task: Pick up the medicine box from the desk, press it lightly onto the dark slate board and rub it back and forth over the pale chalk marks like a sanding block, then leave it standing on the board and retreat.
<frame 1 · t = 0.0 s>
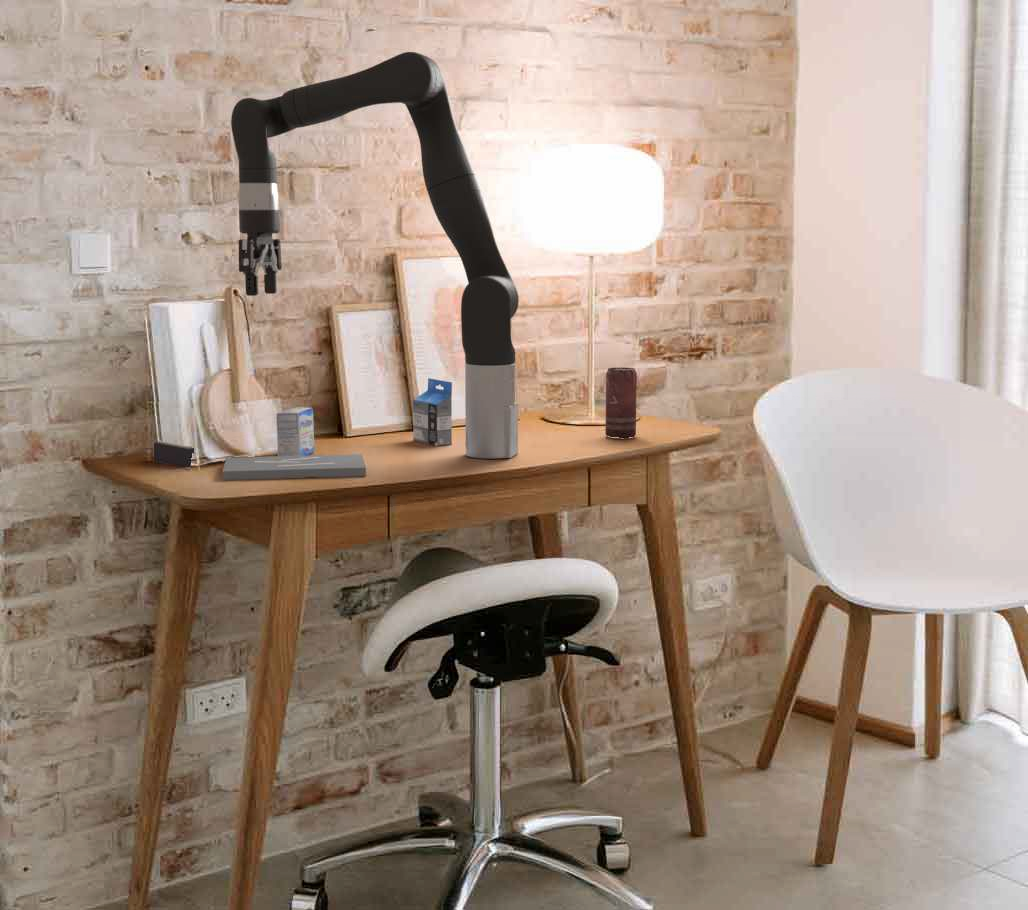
hand: (261, 294, 261), 29 cm above the table, fingers open, 8 cm apart
label tape cartridge: (432, 443, 271), on the table
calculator: (205, 462, 252), on the table
slate board: (294, 470, 239), on the table
medicine box: (296, 457, 255), on the table
can: (621, 438, 278), on the table
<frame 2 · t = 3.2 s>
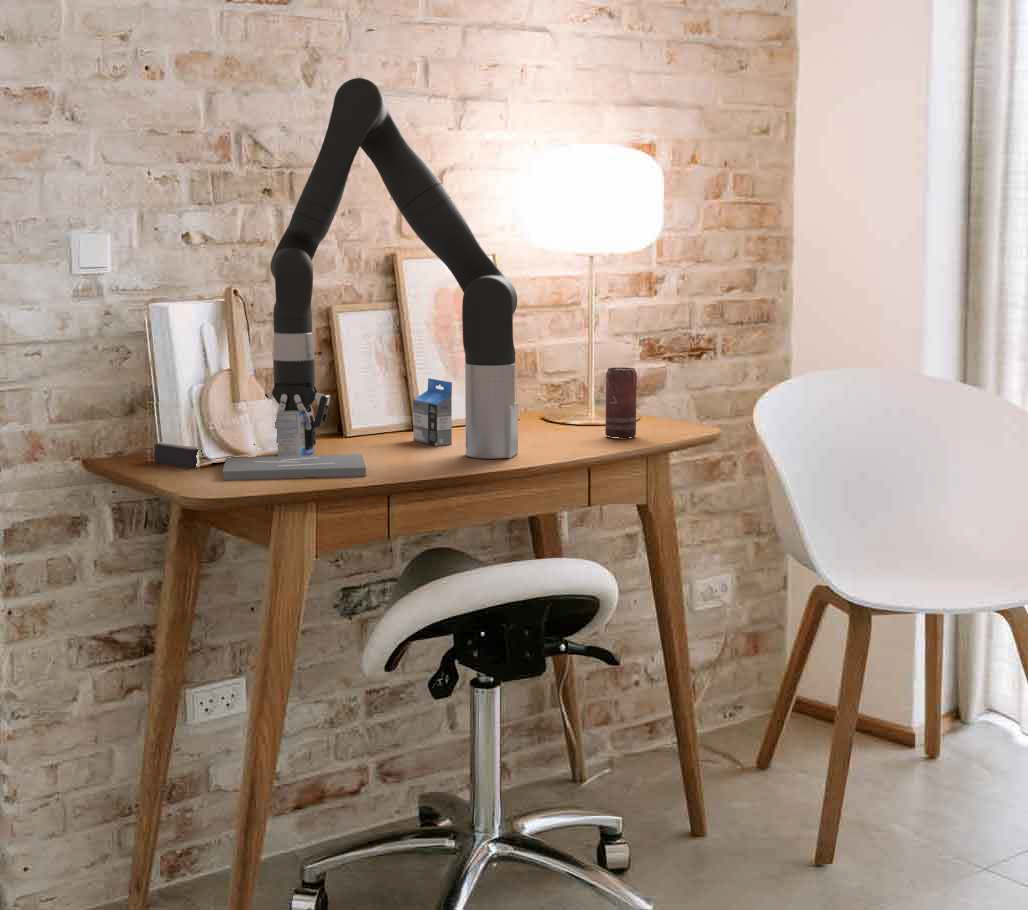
hand: (296, 448, 255), 1 cm above the table, fingers closed on medicine box, 4 cm apart
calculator: (206, 463, 251), on the table
medicine box: (296, 456, 255), on the table, touching gripper
everything else where it was.
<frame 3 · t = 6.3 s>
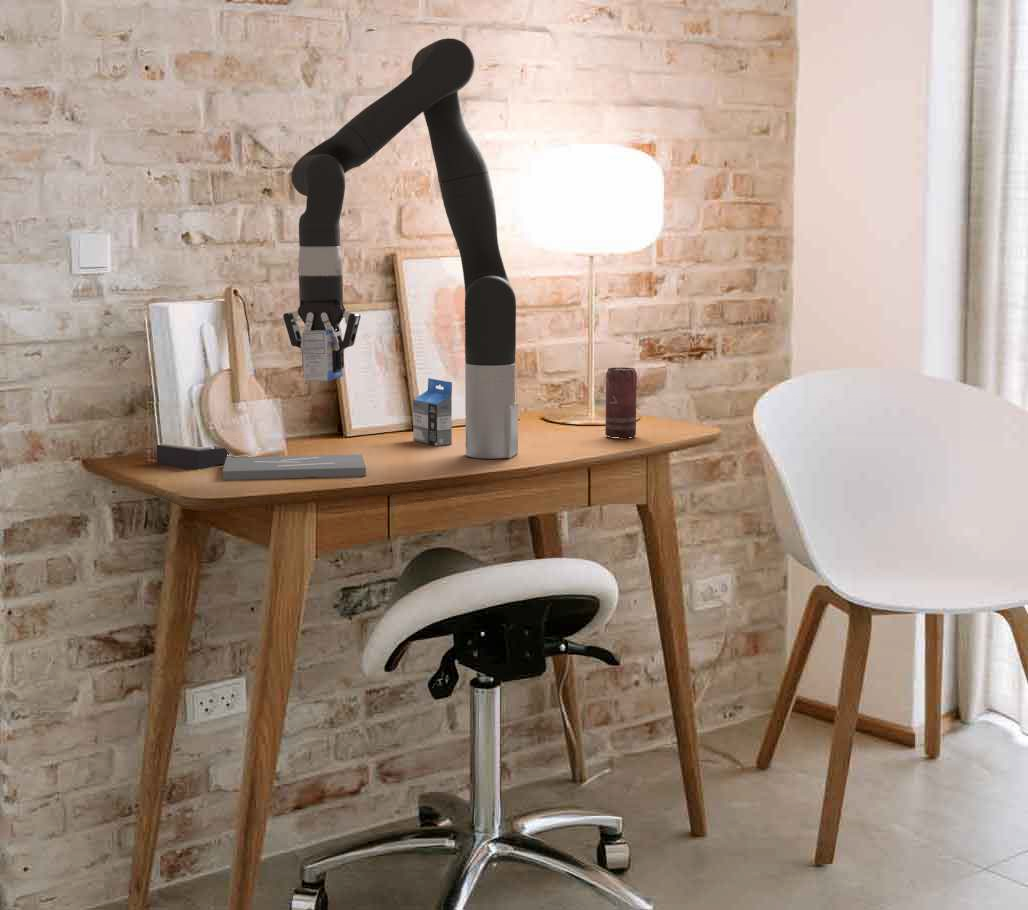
hand: (323, 371, 239), 17 cm above the table, fingers closed on medicine box, 4 cm apart
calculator: (208, 464, 250), on the table
medicine box: (323, 380, 240), point 16 cm above the table, touching gripper
everything else where it was.
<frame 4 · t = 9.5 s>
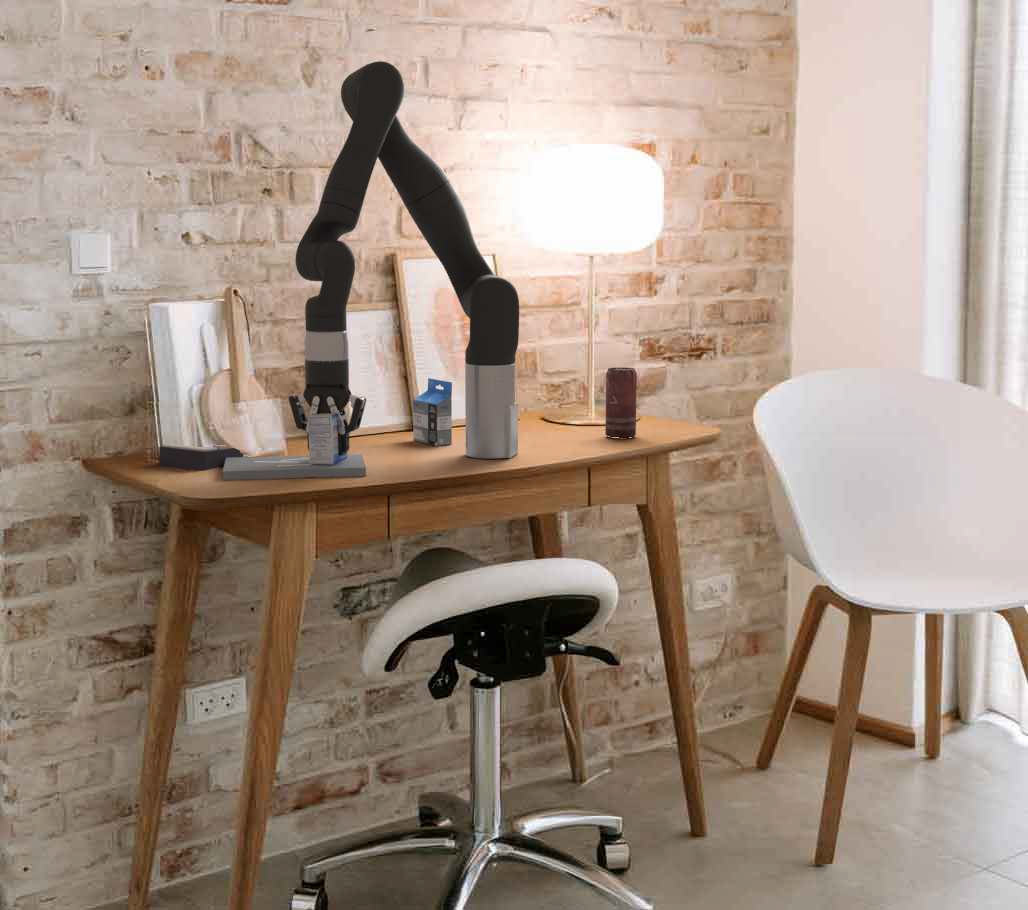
hand: (328, 453, 240), 3 cm above the table, fingers closed on medicine box, 4 cm apart
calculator: (210, 465, 249), on the table
medicine box: (328, 462, 240), point 1 cm above the table, touching gripper, slate board
everything else where it was.
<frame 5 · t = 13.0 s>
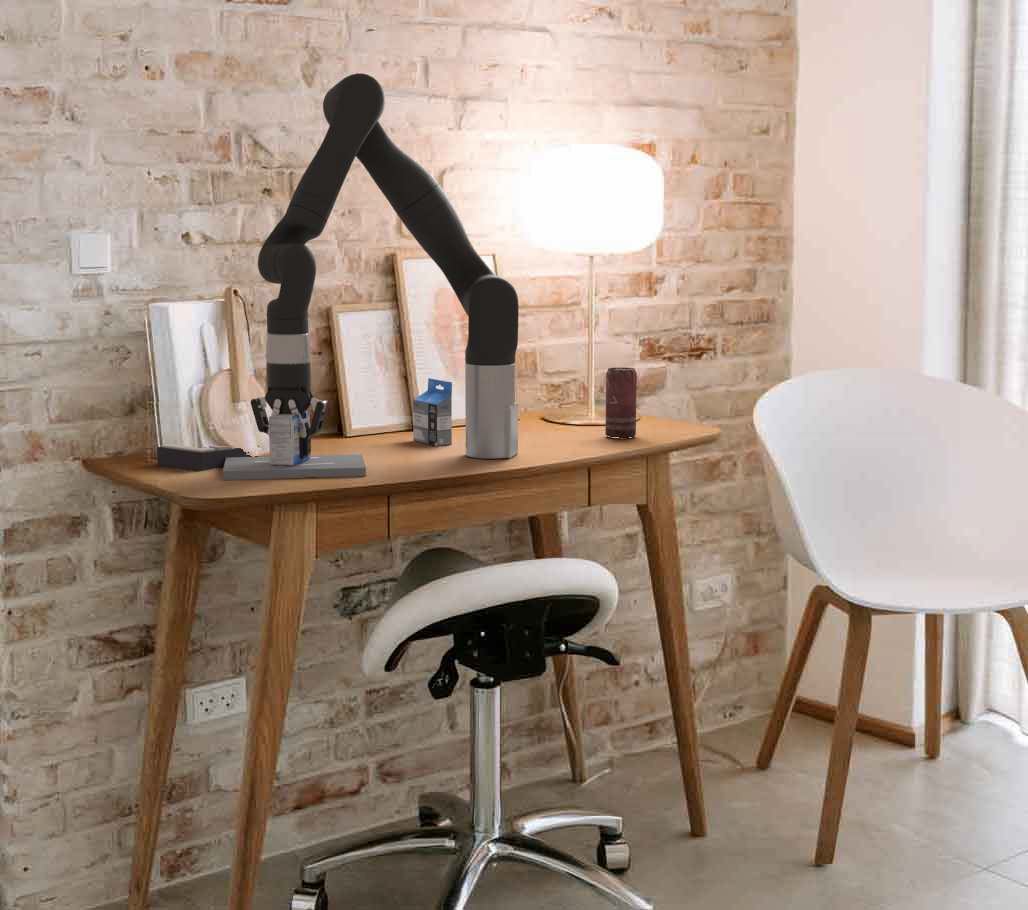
hand: (290, 457, 239), 2 cm above the table, fingers closed on medicine box, 4 cm apart
medicine box: (290, 463, 239), point 1 cm above the table, touching gripper
when the fingers open (2 cm above the table, at t = 15.7 s): medicine box stays where it is, resting on slate board.
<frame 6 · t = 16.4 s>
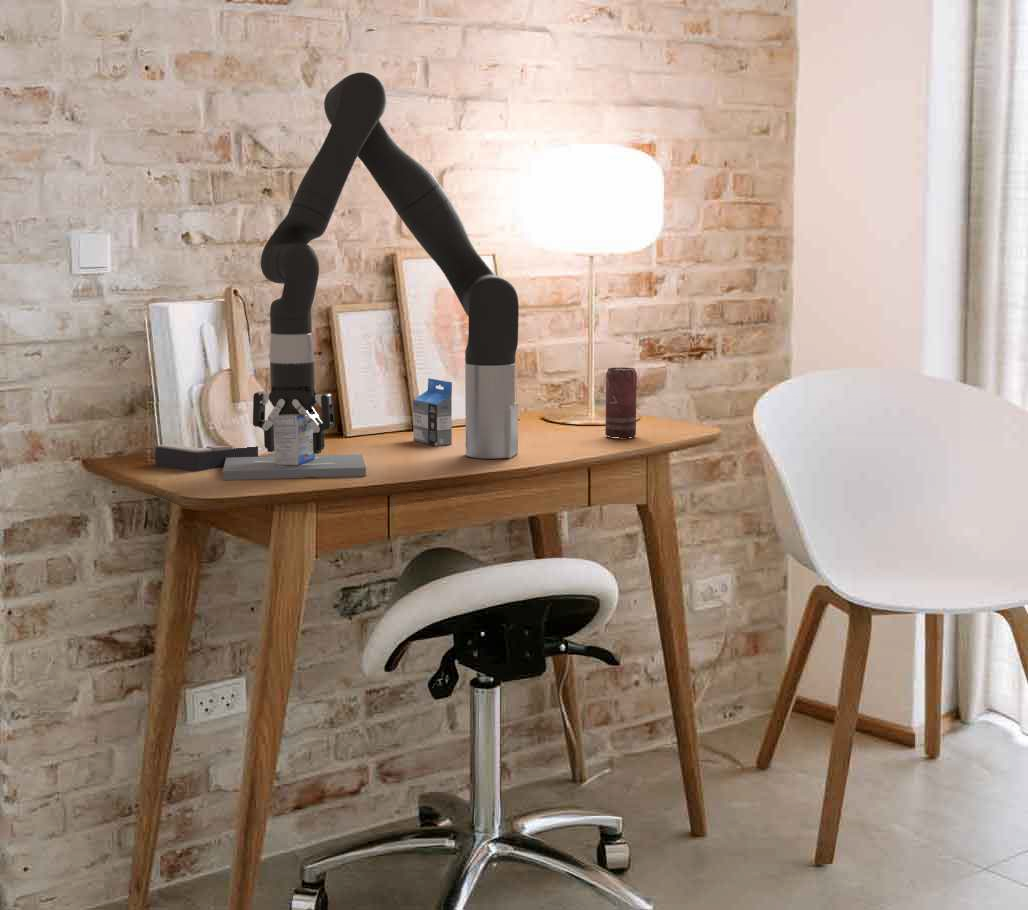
hand: (294, 452, 239), 3 cm above the table, fingers open, 8 cm apart
medicine box: (295, 463, 239), point 1 cm above the table, touching slate board
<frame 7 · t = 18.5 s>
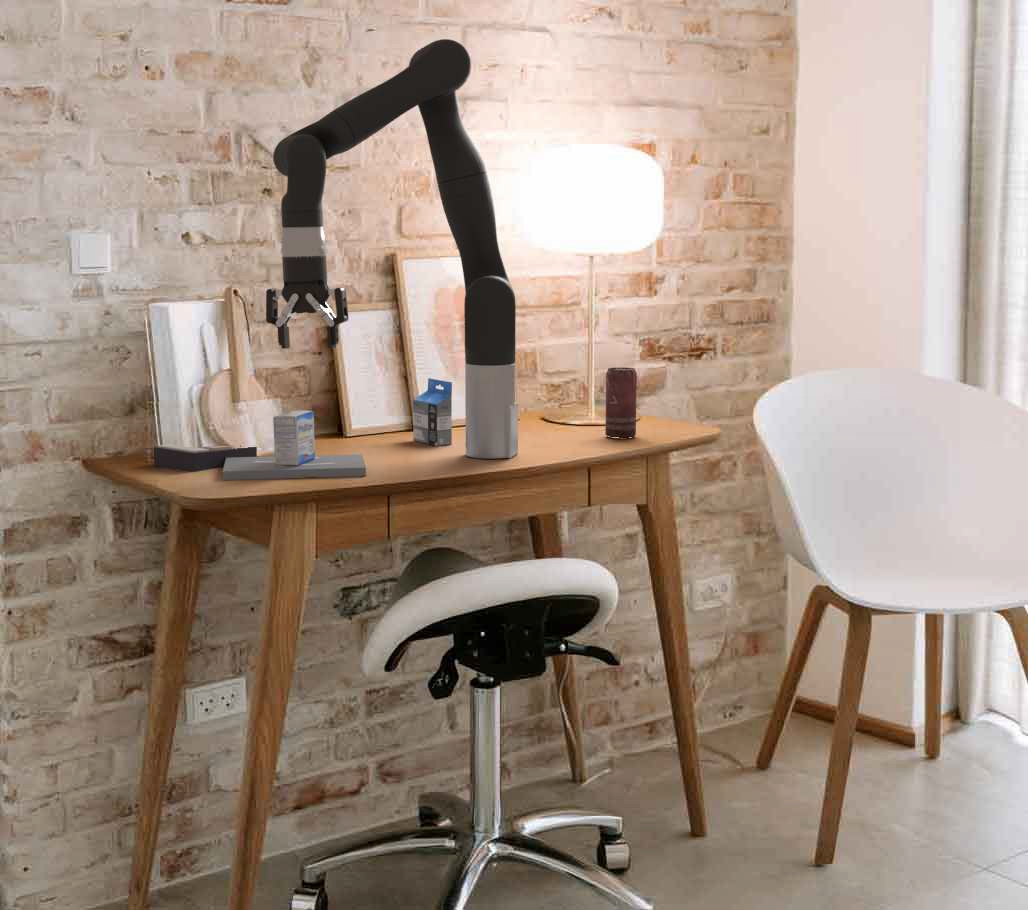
hand: (308, 348, 239), 21 cm above the table, fingers open, 8 cm apart
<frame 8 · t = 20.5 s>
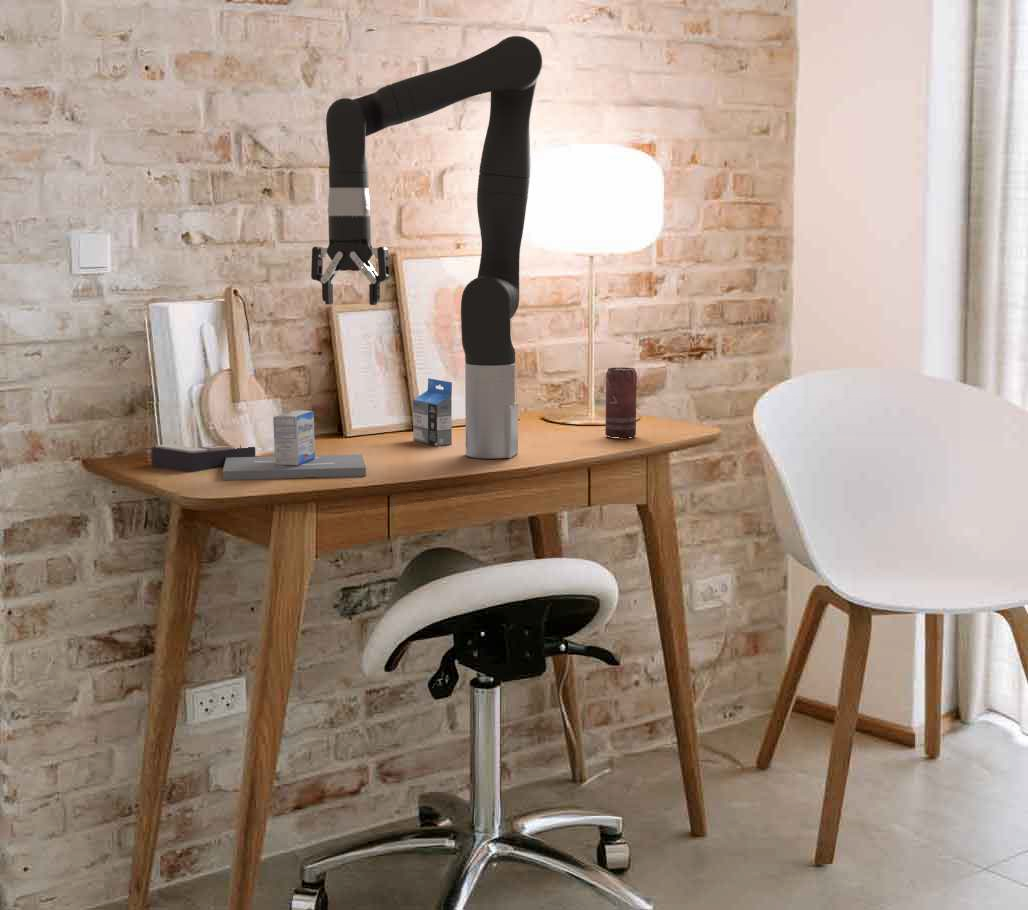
hand: (351, 304, 249), 28 cm above the table, fingers open, 8 cm apart
at the end: medicine box inside the target area on the slate board (0.1 cm from its centre), point 1.3 cm above the slate board's base; medicine box tilted 0°; the gripper is holding nothing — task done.
